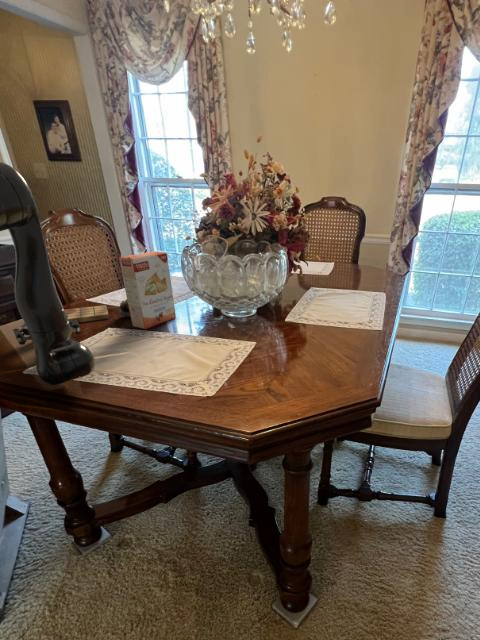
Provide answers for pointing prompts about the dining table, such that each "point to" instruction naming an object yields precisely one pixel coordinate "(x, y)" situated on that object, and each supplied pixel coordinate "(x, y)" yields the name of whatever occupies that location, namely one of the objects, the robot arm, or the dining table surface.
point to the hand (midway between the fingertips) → (44, 323)
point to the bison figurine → (124, 309)
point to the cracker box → (148, 288)
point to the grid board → (87, 313)
